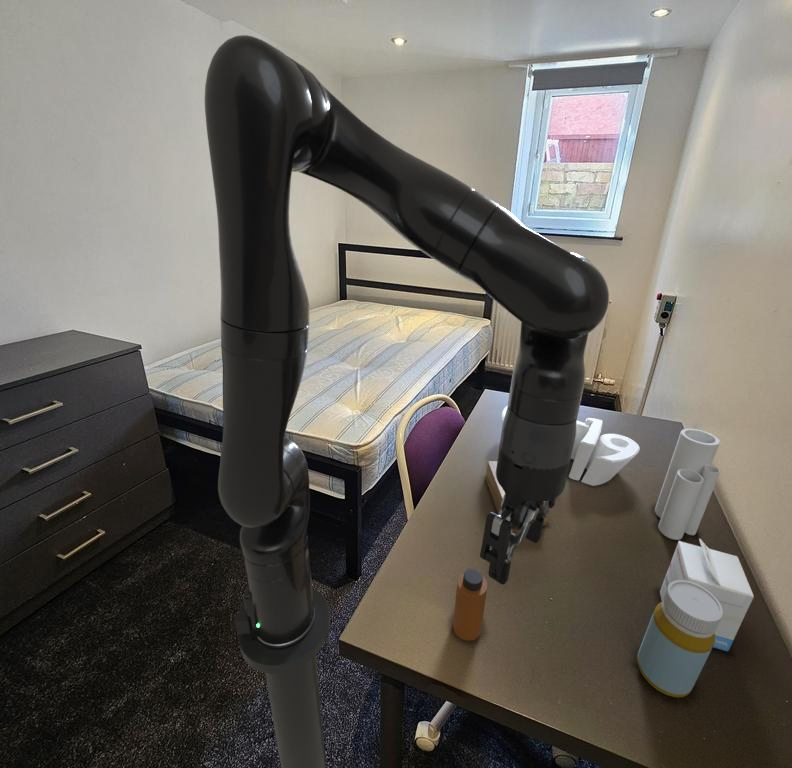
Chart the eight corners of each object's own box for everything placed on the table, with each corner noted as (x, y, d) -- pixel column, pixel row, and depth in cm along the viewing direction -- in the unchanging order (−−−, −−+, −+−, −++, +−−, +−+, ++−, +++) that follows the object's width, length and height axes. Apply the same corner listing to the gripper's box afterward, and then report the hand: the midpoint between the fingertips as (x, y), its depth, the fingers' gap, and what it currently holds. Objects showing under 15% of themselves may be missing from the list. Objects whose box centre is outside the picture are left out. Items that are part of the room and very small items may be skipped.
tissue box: (729, 654, 62) (762, 590, 57) (666, 633, 65) (692, 570, 59) (714, 607, 69) (742, 546, 64) (658, 590, 72) (680, 530, 67)
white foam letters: (485, 448, 112) (489, 414, 108) (509, 425, 125) (514, 393, 121) (622, 500, 94) (633, 461, 90) (635, 467, 107) (645, 432, 103)
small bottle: (455, 641, 62) (460, 589, 58) (450, 614, 66) (456, 564, 62) (483, 640, 62) (491, 588, 58) (477, 614, 66) (484, 563, 62)
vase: (652, 502, 94) (677, 425, 86) (688, 510, 92) (717, 432, 84) (660, 536, 84) (689, 453, 76) (700, 546, 82) (735, 462, 74)
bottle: (626, 649, 62) (653, 577, 56) (671, 648, 62) (702, 576, 56) (652, 700, 55) (685, 625, 50) (702, 699, 56) (741, 624, 50)
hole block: (502, 526, 85) (505, 507, 83) (485, 478, 100) (487, 460, 98) (546, 525, 86) (550, 506, 84) (522, 477, 101) (525, 460, 99)
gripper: (532, 413, 52) (515, 514, 58) (469, 459, 42) (457, 576, 48) (592, 434, 47) (566, 541, 54) (538, 492, 37) (514, 615, 44)
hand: (514, 558), depth 51 cm, fingers open, 8 cm apart
